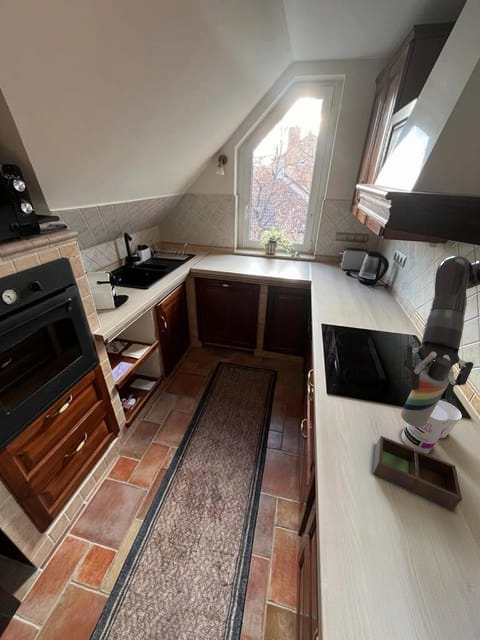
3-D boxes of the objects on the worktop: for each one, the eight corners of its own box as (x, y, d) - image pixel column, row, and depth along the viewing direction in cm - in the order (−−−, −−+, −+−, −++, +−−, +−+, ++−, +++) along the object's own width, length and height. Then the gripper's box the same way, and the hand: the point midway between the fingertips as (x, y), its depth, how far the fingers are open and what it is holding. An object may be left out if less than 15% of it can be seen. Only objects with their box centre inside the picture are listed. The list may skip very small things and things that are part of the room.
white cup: (443, 445, 80) (457, 424, 75) (416, 428, 85) (427, 408, 80) (451, 432, 85) (464, 411, 80) (424, 416, 90) (436, 396, 85)
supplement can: (429, 438, 82) (449, 406, 75) (431, 460, 76) (453, 427, 68) (401, 427, 86) (417, 395, 78) (400, 446, 79) (418, 414, 72)
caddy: (446, 477, 71) (455, 465, 69) (451, 511, 64) (462, 499, 61) (375, 447, 79) (380, 435, 76) (372, 474, 72) (378, 462, 69)
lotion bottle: (405, 407, 72) (433, 349, 62) (428, 420, 68) (462, 361, 58) (396, 417, 68) (425, 358, 58) (420, 431, 65) (454, 371, 55)
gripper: (414, 318, 64) (398, 382, 61) (486, 334, 58) (473, 406, 55) (406, 327, 71) (392, 385, 68) (471, 342, 65) (458, 406, 62)
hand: (428, 394), depth 61 cm, fingers closed on lotion bottle, 5 cm apart
